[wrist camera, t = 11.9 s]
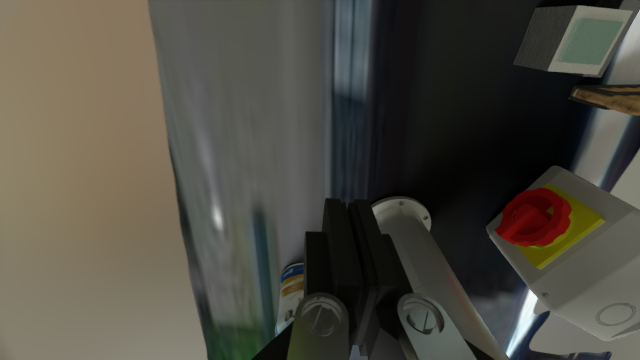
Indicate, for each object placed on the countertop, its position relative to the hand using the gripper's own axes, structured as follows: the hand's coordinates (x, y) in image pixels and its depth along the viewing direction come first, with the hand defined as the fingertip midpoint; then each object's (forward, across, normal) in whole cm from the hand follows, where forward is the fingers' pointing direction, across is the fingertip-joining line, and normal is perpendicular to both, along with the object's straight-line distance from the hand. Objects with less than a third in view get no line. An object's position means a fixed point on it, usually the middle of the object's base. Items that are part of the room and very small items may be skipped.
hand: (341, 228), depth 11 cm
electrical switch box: (+27, -36, +16) cm, 48 cm away
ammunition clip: (+27, -40, -2) cm, 48 cm away
